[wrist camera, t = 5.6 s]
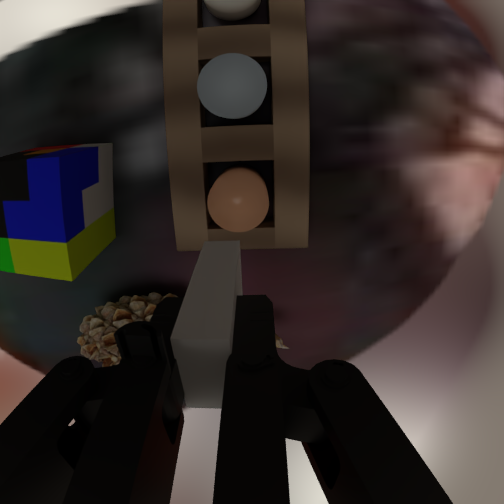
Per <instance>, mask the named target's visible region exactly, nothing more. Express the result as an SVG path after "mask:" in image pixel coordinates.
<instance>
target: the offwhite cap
mask: <svg viewBox="0 0 504 504" xmlns="http://www.w3.org/2000/svg"><path fill="white" fill-rule="evenodd" d="M204 3H205V5H206V7H207V9H208V10H209V12H210V13H211V14H212V15H214V16H215V17H217V18H219V19H222V20H227V21H237V20H241V19H244V18H247V17H249V16H250V15H252V14H253V13H254V12H255V11H256V10H257V9H258V7H259V5H260V3H261V0H204Z"/></svg>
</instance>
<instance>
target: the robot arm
mask: <svg viewBox="0 0 504 504" xmlns="http://www.w3.org/2000/svg"><path fill="white" fill-rule="evenodd" d="M113 335H114V338H115V341H116V344H117V347H118V350H119V353H120V356H121V360H120V362H119V364H117V365H112V366H106V367H100V368H94V366H93V364H92V362H91V360H89V359H87V358H86V357H82V356H73V357H69V358H66V359H64V360H62V361H60V362H59V363H58V364H57V365H55V366H54V368H53V369H52V370H51V371H50V372H49V373H48V374H47V375H46V376H45V377H44V378H43V379H42V380H41V381H40V382H39V383H38V384H37V385H36V387H35V388H33V390H32V391H31V392H30V393H29V394H28V395H27V396H26V397H25V398H24V399H23V400H22V402H20V404H19V405H18V406H17V407H16V408H15V409H14V410H13V411H12V412H11V413H10V415H9V416H8V417H7V418H6V419H5V420H4V421H3V422H2V423H1V425H0V504H169V503H170V498H171V492H172V486H173V480H174V474H175V469H176V463H177V458H178V452H179V446H180V441H181V435H182V430H183V424H184V415H183V411H182V404H183V400H184V398H185V402H186V406H187V407H193V408H222V410H221V420H220V430H219V440H218V451H217V462H216V472H215V483H214V484H215V485H214V496H213V504H290V498H289V483H288V469H287V455H286V441H285V438H288V439H292V440H297V441H301V442H302V445H303V447H304V450H305V452H306V454H307V456H308V459H309V461H310V463H311V465H312V468H313V470H314V472H315V474H316V476H317V479H318V481H319V483H320V485H321V488H322V490H323V492H324V494H325V496H326V498H327V501H328V503H329V504H453V503H452V502H451V500H450V499H449V497H448V495H447V494H446V493H445V491H444V490H443V488H442V487H441V485H440V484H439V482H438V481H437V479H436V478H435V477H434V475H433V474H432V472H431V471H430V469H429V468H428V466H427V465H426V464H425V462H424V461H423V459H422V458H421V456H420V455H419V454H418V452H417V451H416V449H415V448H414V446H413V445H412V444H411V442H410V441H409V439H408V438H407V436H406V435H405V433H404V432H403V431H402V429H401V428H400V426H399V425H398V424H397V422H396V421H395V419H394V418H393V416H392V415H391V414H390V412H389V411H388V409H387V408H386V407H385V405H384V404H383V402H382V401H381V400H380V398H379V397H378V395H377V394H376V393H375V391H374V390H373V388H372V387H371V386H370V384H369V383H368V381H367V380H366V379H365V377H364V376H363V374H362V373H361V372H360V370H359V369H357V368H356V367H355V366H354V365H353V364H351V363H348V362H346V361H343V360H336V359H333V360H325V361H322V362H320V363H317V364H316V365H315V366H314V367H313V368H312V369H311V370H305V369H300V368H296V367H293V366H290V365H288V364H286V363H285V362H284V361H283V360H281V358H280V357H279V356H278V353H277V350H276V338H275V327H274V316H273V304H272V302H271V301H270V299H269V298H268V297H267V296H266V295H242V276H241V256H240V240H237V241H205V242H204V244H203V247H202V250H201V252H200V255H199V258H198V261H197V263H196V266H195V269H194V272H193V274H192V277H191V280H190V283H189V286H188V288H187V291H186V294H185V297H165V298H164V299H163V300H162V301H161V302H160V303H158V304H157V306H156V308H155V310H154V312H153V315H152V317H151V319H150V322H149V321H134V322H131V323H128V324H125V325H123V326H122V327H120V328H119V329H118V330H117V331H116V332H115V333H114V334H113ZM73 418H74V420H75V423H74V424H73V425H71V426H68V425H69V423H70V422H71V421H72V420H73Z"/></svg>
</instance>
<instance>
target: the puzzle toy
mask: <svg viewBox="0 0 504 504" xmlns="http://www.w3.org/2000/svg"><path fill="white" fill-rule="evenodd" d="M115 238H116V233H115V218H114V199H113V143H99V144H79V145H63V146H50V147H39V148H33V149H29V150H25V151H21V152H18V153H14V154H10V155H6V156H3V157H0V271H6V272H13V273H19V274H25V275H32V276H39V277H46V278H53V279H60V280H68V281H73V280H74V279H75V278H76V277H77V276H78V275H79V274H80V273H81V272H82V271H83V270H84V269H85V268H86V267H87V266H88V265H89V264H90V263H91V262H92V260H93V259H94V258H95V257H96V256H97V255H98V254H99V253H100V252H101V251H102V250H104V249H105V248H106V247H107V246H108V245H109V244H110V243H111V242H112V241H113V240H114V239H115Z"/></svg>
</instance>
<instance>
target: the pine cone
mask: <svg viewBox="0 0 504 504" xmlns="http://www.w3.org/2000/svg"><path fill="white" fill-rule="evenodd" d="M165 297H178V296H176V295H172V294H170V293H169V294H167V295H166V296H161V295H160V294H158V293H155V292H153V293H149V295H148V296H144V295H142V296H140V297H139V296H137V295H134V296H133V297H131V296H122V297H121V298H120V300H119V302H116V304H115V303H112V302H107V304H106V305H105V306H99V307H95V310H96V313H97V314H96V315H89V316H86V317H84V318H83V322H82V324H81V325H80V331H81V332H83V335H81V336H80V337H78V341H77V343H79V344H80V345H81V346H82V347H81V354H82V355H84V356H85V357H87V358H89V360H91V359H95V360H97V361H98V362H102V361H103V364H102V367H106V366H112V365H117V364H119V362H120V360H121V356H120V353H119V350H118V347H117V344H116V341H115V338H114V335H113V334H114V333H115V332H116V331H117V330H118V329H119V328H120V327H122V326H123V325H125V324H128V323H131V322H134V321H149V322H150V319H151V317H152V315H153V312H154V310H155V308H156V306H157V304H158V303H160V302H161V301H162V300H163V299H164V298H165ZM275 338H276V347H279V348H288V347H286V346H285V345H283V341H282V339H281V338H280V337H278V336H277V335H276V334H275Z"/></svg>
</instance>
